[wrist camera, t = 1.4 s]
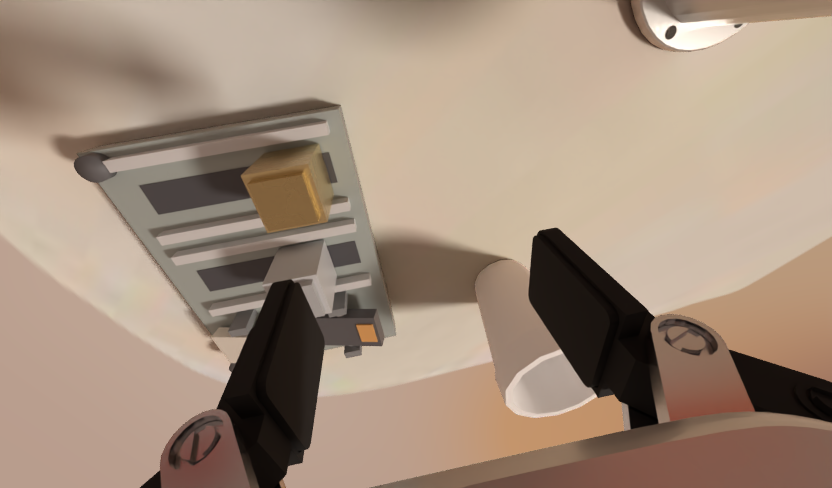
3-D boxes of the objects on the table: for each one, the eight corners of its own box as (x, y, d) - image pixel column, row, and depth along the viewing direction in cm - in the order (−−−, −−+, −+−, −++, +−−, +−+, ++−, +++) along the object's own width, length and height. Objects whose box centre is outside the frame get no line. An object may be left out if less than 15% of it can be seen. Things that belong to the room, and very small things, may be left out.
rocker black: (376, 306, 29) (372, 316, 28) (385, 338, 32) (382, 349, 30) (308, 307, 30) (302, 317, 29) (322, 337, 33) (317, 348, 32)
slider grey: (324, 239, 27) (315, 279, 22) (336, 275, 29) (331, 318, 24) (278, 248, 26) (259, 290, 22) (294, 283, 29) (280, 328, 24)
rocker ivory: (281, 325, 29) (274, 336, 28) (298, 356, 31) (292, 367, 30) (217, 325, 30) (208, 336, 29) (238, 354, 32) (230, 366, 31)
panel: (340, 105, 23) (335, 115, 19) (394, 322, 36) (398, 354, 32) (98, 146, 22) (42, 165, 18) (242, 353, 35) (227, 390, 31)
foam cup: (537, 302, 38) (607, 403, 27) (465, 319, 38) (506, 427, 27) (541, 238, 33) (630, 331, 22) (457, 258, 32) (504, 361, 22)
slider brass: (318, 143, 22) (306, 166, 18) (334, 193, 24) (326, 226, 20) (264, 152, 22) (236, 179, 17) (284, 202, 24) (264, 237, 20)
